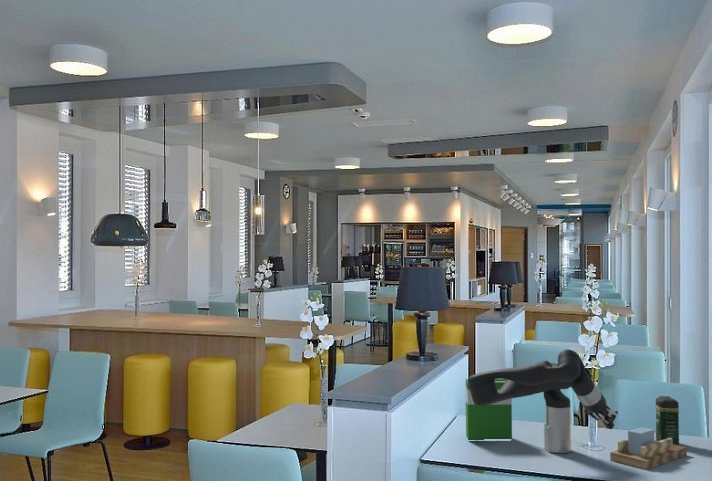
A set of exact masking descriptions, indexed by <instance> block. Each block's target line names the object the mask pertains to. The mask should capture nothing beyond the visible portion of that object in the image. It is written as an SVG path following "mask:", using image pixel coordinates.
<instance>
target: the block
mask: <svg viewBox="0 0 712 481" xmlns="http://www.w3.org/2000/svg"><path fill="white" fill-rule="evenodd" d="M627 439H628V453H631V454H635V455H639V456H641V447H642V446H645V445H648V444H651V443H654V440H655V429H652V428H648V427H643V426H641V427H637V428H633V429H630V430H628V431H627Z"/></svg>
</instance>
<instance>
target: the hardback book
mask: <svg viewBox="0 0 712 481" xmlns="http://www.w3.org/2000/svg"><path fill="white" fill-rule="evenodd" d="M494 380H495V384H496V388H497V391H499V390H500V389H501V387H502V386H503V384H504V383H505V381H506V380H507V379H494ZM512 399H513V398H511V399H507V400H503V401H500V402H496V403H493V404H489V405H485V406H477V405H475V404H474V402H473V400H472V396H471V392H470V389H469V385H468V378H465V437H466V436H467V438H468V440H484V439H512V440H513V422H512V421H513V419H512V418H513V417H512V416H513V414H512V413H513V412H512V411H513V409H512V407H513V406H512V404H513V403H512ZM467 438H466V439H467ZM468 440H467V441H468Z"/></svg>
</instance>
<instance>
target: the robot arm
mask: <svg viewBox="0 0 712 481" xmlns="http://www.w3.org/2000/svg"><path fill="white" fill-rule="evenodd" d="M467 379H468V385H469V389H470V392H471V396H472V400H473V402H474V404H475V405H477V406H485V405H489V404H493V403H496V402H500V401H503V400H507V399H511V398H512V399H516V398H522V397H523V398H524V397H528V396H533V395H536V394H541V393H543V399H544V401H545V423H544V425H543V426H544V427H543V432H544V435H543V436H544V444H543V445H544V449H545V450H546V451H547V452H548V453H554V454H567V453H571V452H572V438H571V436H572V434H571V433H572V432H571V430H572V429H571V424H572V423H571V422H572V421H571V417H572V416H571V399H570V398H569V397H568V396H567V395H566V394H564V393H563V391H562V390H568V389H570V388H571V389H572V391H573V392H574V393H575V395H576V397H577V399H578V400H579V402H580V403H581V405H582V406H583V408H584V409H583V412H584V413H585V414H586V415H588V416H590V417H592V419H594V420H595V421H598V422H599V421H600V422H601V423H602V424H603V425H604V426H605V427H606V429H608V430H613V429H614V426H615V422H614V421H615V420H616V418H617V416H618V414H619V411H617V410H611V408H610V407H609V406H608V405H607V400H606V398H605V397H604V394H603V393H602V391H601V390H600V388H599V387H598V385H597V384H596V383H595V382H594V381H593V379H592V378H591V377H590V375H589V374H588V372H587V369H586V367H585V365H584V362H583V360H582V358H581V356H580V355H579V354H578V353H577V352H576V351H574V350H572V349H568V348H567V349H563V350H562V351H560V352H559V354H558V356H557V363H555V362H554V363H553V362H550V361H548V360H542V361H541V360H540V361H537V362H534V363H531V364H526V365H521V366H513V367H507V368H501V369H494V370H489V371H483V372H479V373H478V372H477V373H475V374H472V375H470V376H469V377H468V378H467ZM494 379H507V380H506V381H505V383H504V384H503V386H502V387H501V389H500V390H499V391H497V388H496V384H495V380H494Z"/></svg>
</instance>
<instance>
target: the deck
mask: <svg viewBox="0 0 712 481" xmlns="http://www.w3.org/2000/svg"><path fill="white" fill-rule="evenodd" d="M687 452H688V451H687V447H686V446H682V445H674V444H673V443H672V438H667V439H664V440H661V441H656V439H654V443H651V444H648V445H645V446H642V447H641V456H639V455H635V454H631V453H628V438H625V439H623V440H619V441H617V450H613V451H611V452H609V454H610V462H614V463H618V464H621V465H627V466H630V467H633V468H638V469H642V470H646V471H647V470H649V468H650V469H653V468H655V467H657V466H661V465H663V464H667V463H669V462H672V461H674V460H678V459H681V458H683V457H686V456H687V455H688V454H687ZM652 467H653V468H652Z"/></svg>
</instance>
